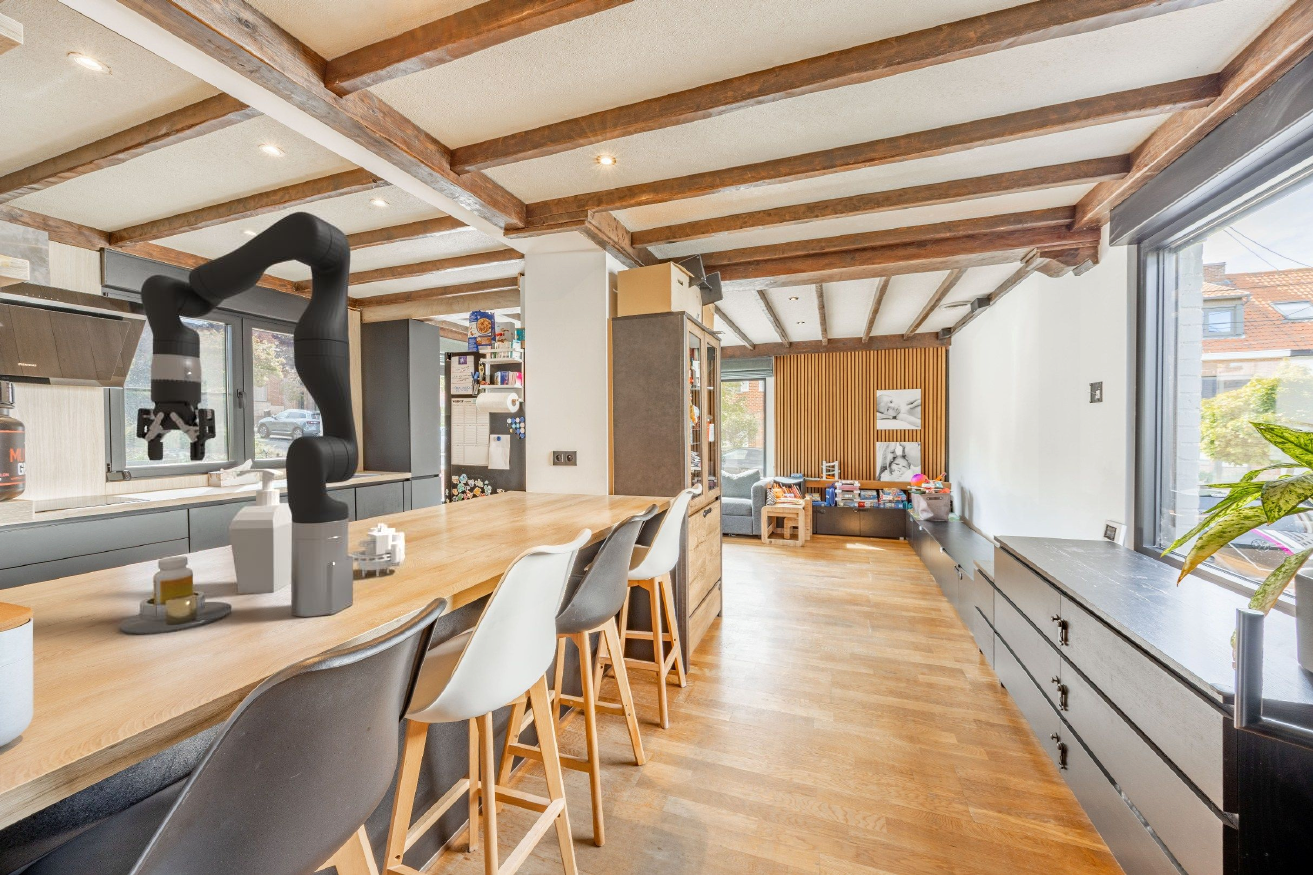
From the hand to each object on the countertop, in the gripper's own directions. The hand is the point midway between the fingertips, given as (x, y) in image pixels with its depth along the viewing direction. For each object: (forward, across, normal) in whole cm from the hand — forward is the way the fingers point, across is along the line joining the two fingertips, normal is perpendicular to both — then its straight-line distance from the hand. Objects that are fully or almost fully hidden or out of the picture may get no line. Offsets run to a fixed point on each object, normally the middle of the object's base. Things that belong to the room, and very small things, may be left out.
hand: (176, 460), depth 106 cm
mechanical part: (+28, -28, -23) cm, 46 cm away
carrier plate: (+28, -10, +10) cm, 32 cm away
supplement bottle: (+27, -8, +8) cm, 30 cm away
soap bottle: (+28, -10, -10) cm, 32 cm away
